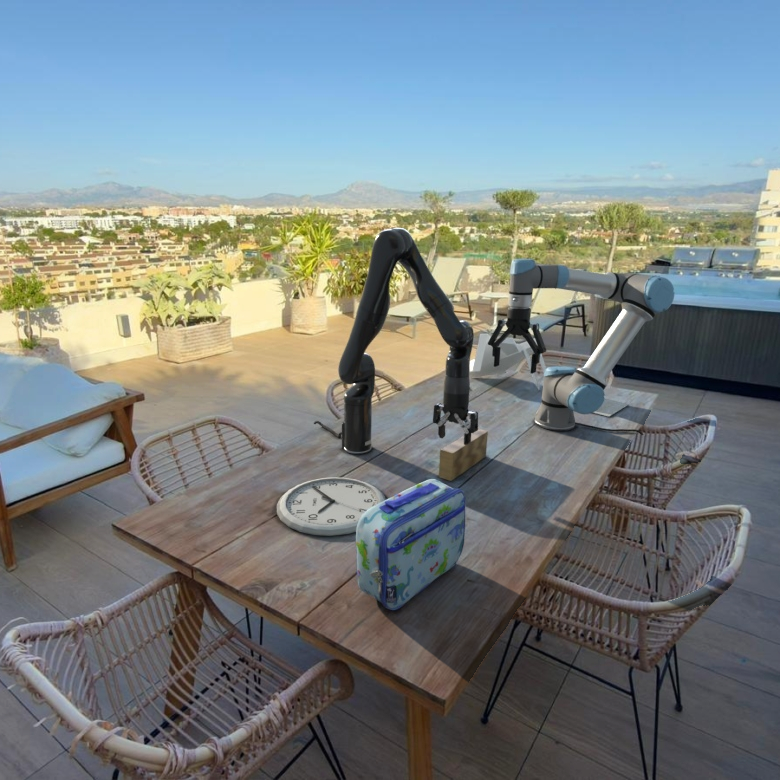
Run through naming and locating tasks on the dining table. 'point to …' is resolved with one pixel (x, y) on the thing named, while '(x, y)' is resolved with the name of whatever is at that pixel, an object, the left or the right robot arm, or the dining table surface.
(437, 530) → the lunch box
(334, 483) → the wall clock
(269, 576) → the dining table surface
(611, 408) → the thin gray rectangular panel
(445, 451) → the bar
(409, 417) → the dining table surface
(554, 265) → the right robot arm
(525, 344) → the white plastic object
